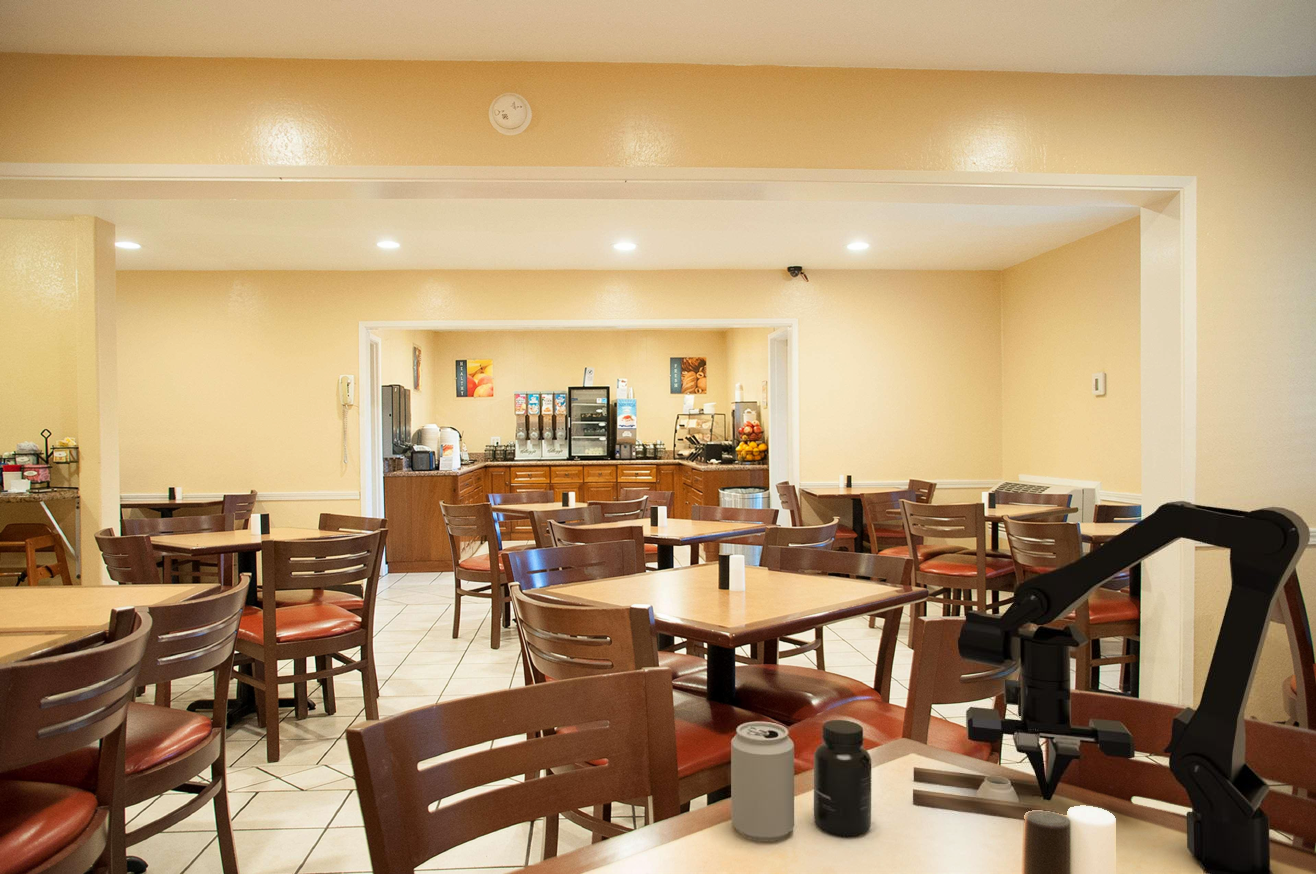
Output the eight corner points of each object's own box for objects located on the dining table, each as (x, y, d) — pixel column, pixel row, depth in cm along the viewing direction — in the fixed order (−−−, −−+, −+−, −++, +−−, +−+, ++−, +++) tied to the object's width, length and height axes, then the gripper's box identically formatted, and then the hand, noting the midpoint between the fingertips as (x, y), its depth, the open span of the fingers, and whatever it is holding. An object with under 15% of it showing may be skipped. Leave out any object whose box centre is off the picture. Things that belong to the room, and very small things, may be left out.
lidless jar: (984, 791, 105) (971, 804, 101) (983, 769, 105) (971, 781, 101) (1023, 802, 102) (1012, 815, 98) (1023, 779, 102) (1012, 791, 98)
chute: (1040, 793, 104) (1040, 782, 104) (1051, 823, 95) (1051, 810, 95) (913, 778, 109) (913, 767, 109) (912, 804, 100) (912, 792, 100)
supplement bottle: (806, 831, 93) (805, 729, 94) (822, 808, 99) (822, 713, 100) (864, 844, 90) (863, 739, 90) (877, 820, 96) (876, 721, 97)
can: (793, 847, 89) (792, 741, 90) (727, 841, 91) (727, 737, 91) (795, 818, 97) (794, 720, 97) (734, 812, 98) (734, 716, 99)
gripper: (1113, 665, 104) (1115, 784, 104) (963, 654, 110) (964, 765, 110) (1134, 689, 94) (1136, 821, 94) (967, 675, 100) (968, 798, 100)
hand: (1046, 799), depth 99 cm, fingers closed
